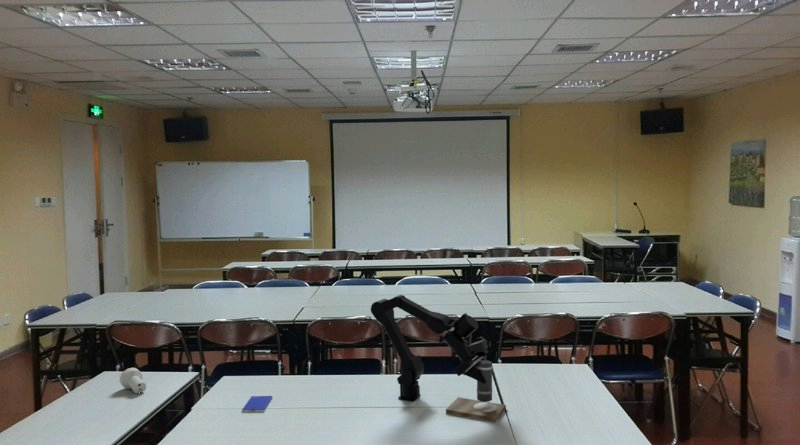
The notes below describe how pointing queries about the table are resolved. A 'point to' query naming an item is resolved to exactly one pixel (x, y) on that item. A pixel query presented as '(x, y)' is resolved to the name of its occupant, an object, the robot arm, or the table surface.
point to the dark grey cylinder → (486, 389)
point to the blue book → (257, 404)
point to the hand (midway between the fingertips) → (488, 380)
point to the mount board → (476, 409)
